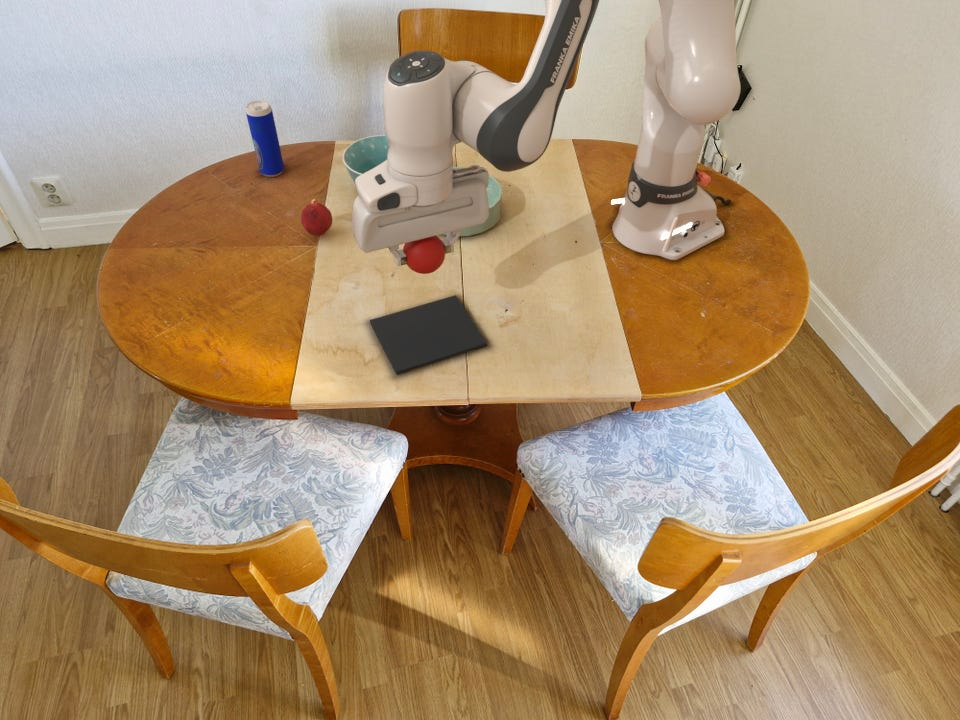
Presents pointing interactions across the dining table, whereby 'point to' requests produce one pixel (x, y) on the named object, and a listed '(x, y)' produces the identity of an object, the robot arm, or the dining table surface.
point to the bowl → (365, 154)
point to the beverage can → (265, 138)
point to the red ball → (425, 254)
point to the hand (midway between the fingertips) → (424, 257)
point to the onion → (316, 218)
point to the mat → (427, 334)
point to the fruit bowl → (494, 208)
